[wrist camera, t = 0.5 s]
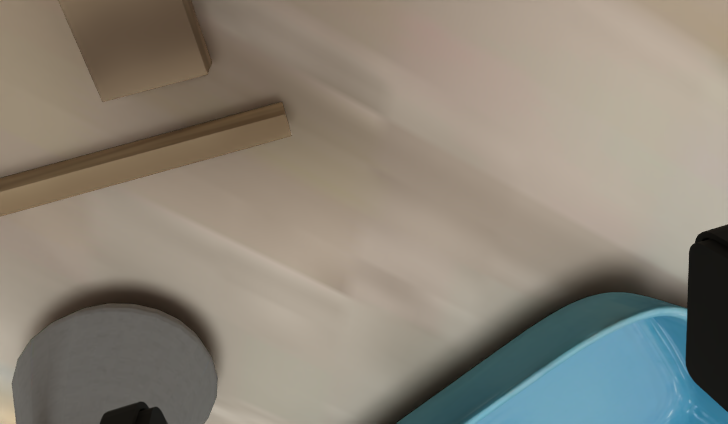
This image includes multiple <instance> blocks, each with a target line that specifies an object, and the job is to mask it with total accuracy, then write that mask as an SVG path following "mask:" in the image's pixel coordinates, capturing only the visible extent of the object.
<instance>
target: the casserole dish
mask: <svg viewBox="0 0 728 424" xmlns="http://www.w3.org/2000/svg"><path fill="white" fill-rule="evenodd" d="M686 331H687V308H684V307H681V306H677V305H674V304H671V303H667V302H664V301H661V300H658V299H654V298H651V297H647V296H643V295H638V294H633V293H625V292H609V293H602V294H597V295H593V296H590V297H586V298H583V299H581V300H578V301H576V302H573V303H571V304H569V305H567V306H565V307H563V308H561V309H559V310H558V311H556V312H554V313H553V314H551V315H549V316H548V317H546V318H544V319H543V320H541V321H540V322H538V323H536V324H535V325H533V326H532V327H530V328H529V329H527V330H526V331H524V332H523V333H522V334H520V335H519V336H517V337H516V338H514V339H513V340H512V341H510V342H509V343H507V344H506V345H505V346H503V347H502V348H500V349H499V350H498V351H496V352H495V353H493V354H492V355H491V356H489V357H488V358H486V359H485V360H484V361H482V362H481V363H479V364H478V365H477V366H475V367H474V368H472V369H471V370H470V371H468V372H467V373H465V374H464V375H463V376H461V377H460V378H458V379H457V380H456V381H454V382H453V383H452V384H450V385H449V386H447V387H446V388H445V389H443V390H442V391H440V392H439V393H438V394H436V395H435V396H433V397H432V398H431V399H429V400H428V401H426V402H425V403H424V404H422V405H421V406H419V407H418V408H417V409H415V410H414V411H412V412H411V413H410V414H408V415H407V416H405V417H404V418H403V419H401V420H400V421H399V422H397V423H396V424H728V412H727V411H726V410H724V409H723V408H722V407H721V406H720V405H719V404H718V403H717V402H716V401H715V400H713V399H712V398H711V397H710V396H709V395H708V394H707V393H706V392H705V391H704V390H702V389H701V388H700V387H699V386H698V385H697V384H696V383H695V382H694V381H693V380H692V378H691V377H690V375H689V373H688V371H687V368H686V362H685V360H686Z"/></svg>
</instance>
